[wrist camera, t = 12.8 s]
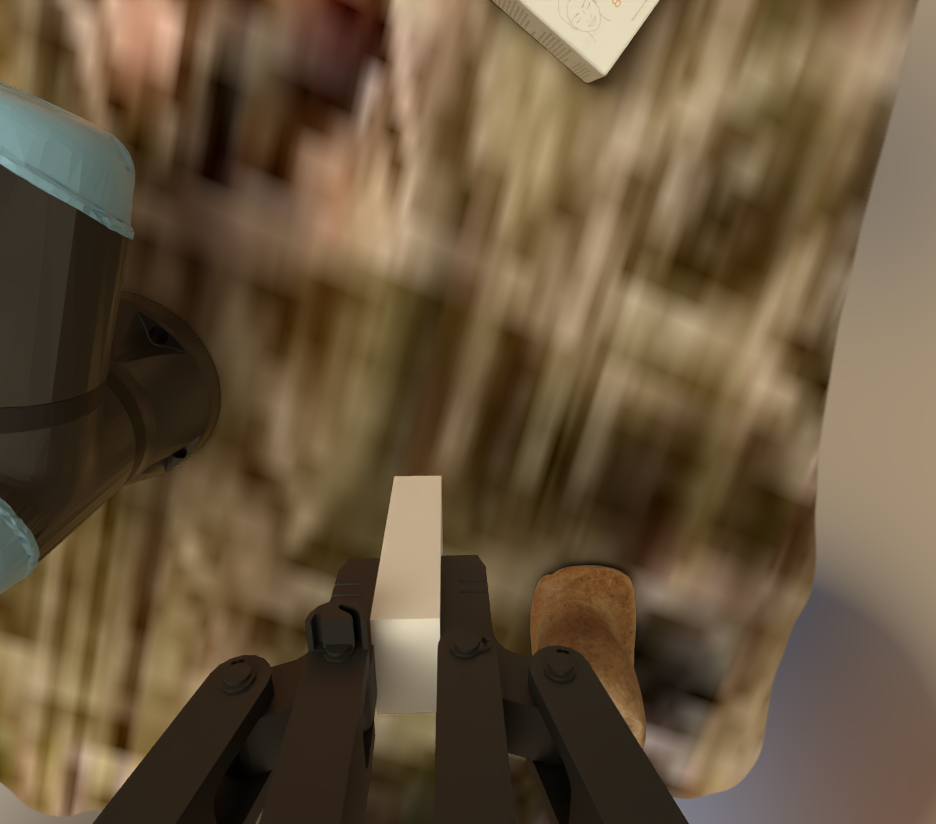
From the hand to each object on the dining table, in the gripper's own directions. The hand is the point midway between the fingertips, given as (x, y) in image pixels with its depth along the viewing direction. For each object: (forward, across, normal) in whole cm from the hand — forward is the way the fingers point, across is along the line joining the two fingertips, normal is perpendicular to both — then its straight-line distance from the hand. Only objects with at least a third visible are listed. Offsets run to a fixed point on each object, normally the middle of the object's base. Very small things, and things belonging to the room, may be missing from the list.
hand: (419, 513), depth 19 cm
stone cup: (+29, +13, -30) cm, 43 cm away
